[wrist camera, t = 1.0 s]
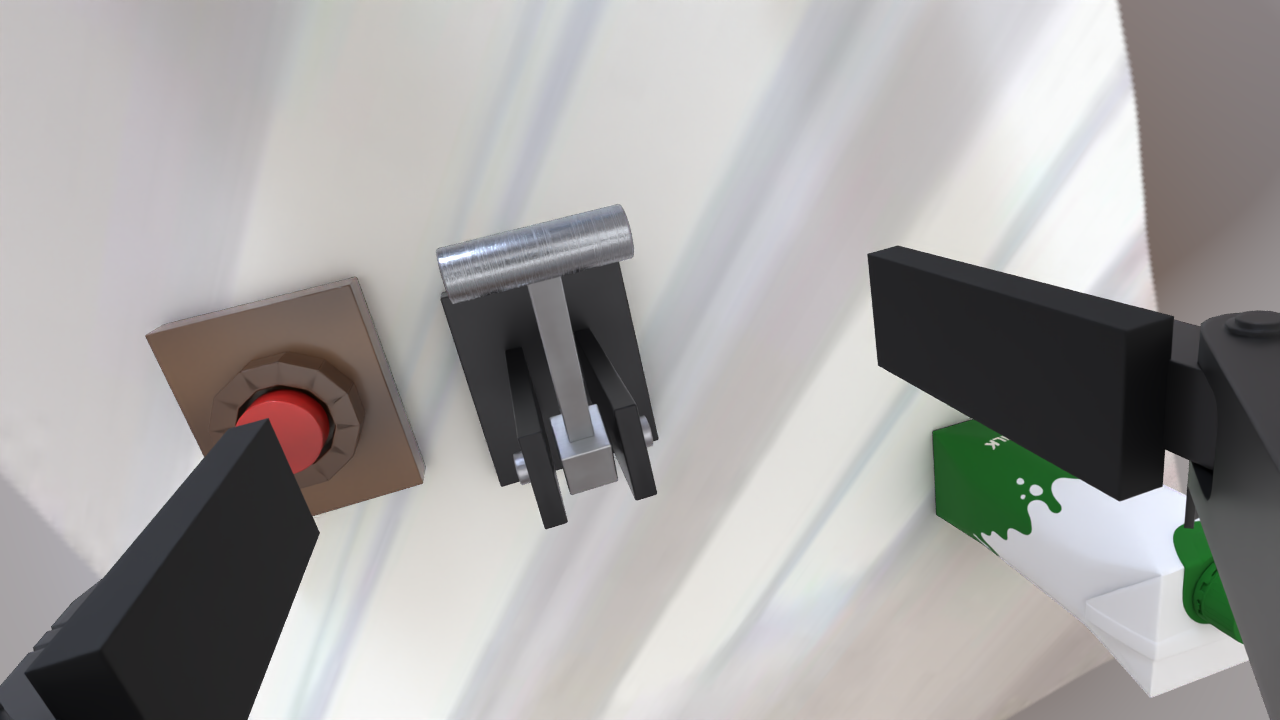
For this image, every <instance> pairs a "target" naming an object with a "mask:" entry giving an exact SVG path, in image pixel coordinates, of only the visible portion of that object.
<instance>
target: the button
mask: <svg viewBox="0 0 1280 720" xmlns="http://www.w3.org/2000/svg"><path fill="white" fill-rule="evenodd" d="M266 418H269V420H270V422H271V425H272V427H273V429H274V431H275V434H276V436H277V438H278V440H279V443H280V445H281V447H282V449H283V452H284V454H285V456H286V458H287V461H288V463H289V465H290V467H291V469H292V472H293V474H295V473H298V472H301V471H303V470H305V469H306V468H308V467H309V466H311V465H312V464H313V463H314V462H315V461H316V459H317V458H318V456H319V455H320V453H321V451H322V449H323V447H324V445H325V442H326V440H327V438H328V435H329V420H328V417H327V414H326V412H325V410H324V409H323V407H322V406H321V405H320V404H319V403H318V402H317V401H316V400H315V399H313V398H312V397H310V396H309V395H307V394H305V393H302V392H299V391H295V390H285V389H283V390H275V391H271V392H268V393H265V394H263V395H261V396H260V397H258V398H257V399H256V400H255V401H254V402H253V403H252V404H251V405H250V406H249V407H248V409H247V410H246V411H245V412H244V413H243V414H242V416H241V417H240V418H239V420H238V422H237V424H236V426H235V427H237V426H241V425H244V424H248V423H252V422H255V421H259V420H263V419H266Z"/></svg>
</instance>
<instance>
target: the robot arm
mask: <svg viewBox="0 0 1280 720" xmlns="http://www.w3.org/2000/svg"><path fill="white" fill-rule="evenodd" d="M868 265H869V275H870V286H871V296H872V307H873V317H874V328H875V338H876V349H877V359H878V366H880V367H882V368H884V369H885V370H887V371H889V372H891V373H892V374H894V375H896V376H898V377H899V378H901V379H903V380H905V381H907V382H908V383H910V384H912V385H914V386H915V387H917V388H919V389H921V390H922V391H924V392H926V393H928V394H930V395H931V396H933V397H935V398H937V399H938V400H940V401H942V402H944V403H946V404H947V405H949V406H951V407H953V408H954V409H956V410H958V411H960V412H961V413H963V414H965V415H967V416H969V417H970V418H972V419H974V420H976V421H977V422H979V423H981V424H983V425H984V426H986V427H988V428H990V429H992V430H993V431H995V432H997V433H999V434H1000V435H1002V436H1004V437H1006V438H1007V439H1009V440H1011V441H1013V442H1015V443H1016V444H1018V445H1020V446H1022V447H1023V448H1025V449H1027V450H1029V451H1031V452H1032V453H1034V454H1036V455H1038V456H1039V457H1041V458H1043V459H1045V460H1046V461H1048V462H1050V463H1052V464H1054V465H1055V466H1057V467H1059V468H1061V469H1062V470H1064V471H1066V472H1068V473H1069V474H1071V475H1073V476H1075V477H1077V478H1078V479H1080V480H1082V481H1084V482H1085V483H1087V484H1089V485H1091V486H1092V487H1094V488H1096V489H1098V490H1100V491H1101V492H1103V493H1105V494H1107V495H1108V496H1110V497H1112V498H1114V499H1116V500H1117V501H1119V502H1120V501H1123V500H1126V499H1129V498H1132V497H1135V496H1137V495H1140V494H1143V493H1146V492H1149V491H1152V490H1154V489H1157V488H1160V487H1163V473H1164V458H1165V450H1168V451H1170V452H1172V453H1174V454H1177V455H1179V456H1181V457H1183V458H1185V459H1188V460H1189V473H1188V484H1187V496H1186V509H1185V521H1184V528H1189V529H1193V528H1194V522H1195V520H1196V519H1198V518H1199V519H1200V522H1201V525H1202V528H1203V530H1204V533H1205V536H1206V539H1207V542H1208V545H1209V547H1210V550H1211V553H1212V556H1213V559H1214V562H1215V565H1216V567H1217V570H1218V573H1219V576H1220V579H1221V582H1222V584H1223V587H1224V590H1225V593H1226V596H1227V599H1228V601H1229V604H1230V607H1231V610H1232V613H1233V616H1234V619H1235V621H1236V624H1237V627H1238V630H1239V633H1240V636H1241V638H1242V641H1243V644H1244V647H1245V650H1246V653H1247V655H1248V658H1249V661H1250V664H1251V666H1252V669H1253V672H1254V675H1255V678H1256V681H1257V684H1258V687H1259V689H1260V692H1261V695H1262V698H1263V701H1264V704H1265V707H1266V709H1267V712H1268V715H1269V718H1270V720H1280V313H1277V312H1272V311H1247V312H1243V313H1233V314H1224V315H1220V316H1216V317H1212V318H1209V319H1208V320H1206V321H1204V322H1203V323H1201V326H1196V325H1192V324H1189V323H1185V322H1181V321H1178V320H1174V316H1170V315H1167V314H1162V313H1159V312H1155V311H1151V310H1147V309H1143V308H1139V307H1136V306H1132V305H1128V304H1124V303H1120V302H1116V301H1112V300H1108V299H1104V298H1100V297H1096V296H1093V295H1089V294H1085V293H1081V292H1077V291H1073V290H1069V289H1065V288H1061V287H1057V286H1054V285H1050V284H1046V283H1042V282H1038V281H1034V280H1030V279H1026V278H1022V277H1018V276H1015V275H1011V274H1007V273H1003V272H999V271H995V270H991V269H987V268H983V267H979V266H976V265H972V264H968V263H964V262H960V261H956V260H952V259H948V258H944V257H940V256H936V255H933V254H929V253H925V252H921V251H917V250H913V249H909V248H905V247H901V246H895V247H891V248H888V249H884V250H880V251H877V252H873V253H869V254H868ZM319 534H320V532H319V530H318V528H317V526H316V523H315V521H314V519H313V517H312V514H311V512H310V510H309V508H308V505H307V503H306V501H305V499H304V496H303V494H302V492H301V490H300V487H299V485H298V483H297V481H296V478H295V476H294V474H293V472H292V469H291V467H290V465H289V463H288V461H287V458H286V456H285V454H284V452H283V449H282V447H281V445H280V443H279V440H278V438H277V436H276V434H275V431H274V429H273V427H272V425H271V422H270V420H269V418H266V419H263V420H259V421H255V422H252V423H248V424H244V425H241V426H237V427H234V428H230V429H228V430H227V431H226V432H225V434H224V435H223V436H222V437H221V438H220V440H219V441H218V442H217V443H216V444H215V446H214V447H213V448H212V449H211V450H210V451H209V453H208V454H207V455H206V456H205V457H204V459H203V460H202V461H201V462H200V463H199V465H198V466H197V467H196V468H195V469H194V471H193V472H192V473H191V474H190V475H189V477H188V478H187V479H186V480H185V481H184V482H183V484H182V485H181V486H180V487H179V488H178V490H177V491H176V492H175V493H174V494H173V496H172V497H171V498H170V499H169V500H168V502H167V503H166V504H165V505H164V506H163V508H162V509H161V510H160V511H159V512H158V514H157V515H156V516H155V517H154V518H153V519H152V521H151V522H150V523H149V524H148V525H147V527H146V528H145V529H144V530H143V531H142V533H141V534H140V535H139V536H138V537H137V539H136V540H135V541H134V542H133V543H132V545H131V546H130V547H129V548H128V549H127V550H126V552H125V553H124V554H123V555H122V556H121V558H120V559H119V560H118V561H117V562H116V564H115V565H114V566H113V567H112V568H111V570H110V571H109V572H108V573H107V574H106V576H105V577H104V578H103V579H101V580H100V581H99V582H97V584H95V585H94V586H92V587H91V588H90V589H88V590H87V591H86V592H85V593H83V594H82V595H81V596H80V597H78V598H77V599H76V600H74V601H73V602H72V603H71V604H70V606H69V607H68V608H67V609H66V610H65V611H64V612H63V614H62V615H61V616H60V617H59V618H58V619H57V621H56V622H55V623H54V624H53V625H52V626H51V628H52V630H51V631H48V632H46V633H45V634H44V636H43V637H42V638H41V639H40V640H39V641H38V643H37V644H36V645H35V646H34V647H33V649H34V652H30V653H28V654H27V656H26V657H25V658H24V659H23V660H22V661H21V662H20V663H19V665H18V666H17V667H16V668H15V669H14V670H13V672H12V673H11V674H10V675H9V676H8V677H7V679H6V680H5V681H4V682H3V683H2V684H1V686H0V720H248V717H249V714H250V712H251V709H252V707H253V704H254V702H255V699H256V696H257V694H258V691H259V689H260V686H261V683H262V681H263V678H264V676H265V673H266V671H267V668H268V665H269V663H270V660H271V658H272V655H273V652H274V650H275V647H276V645H277V642H278V640H279V637H280V634H281V632H282V629H283V627H284V624H285V621H286V619H287V616H288V614H289V611H290V609H291V606H292V603H293V601H294V598H295V596H296V593H297V591H298V588H299V585H300V583H301V580H302V578H303V575H304V572H305V570H306V567H307V565H308V562H309V560H310V557H311V554H312V552H313V549H314V547H315V544H316V541H317V539H318V536H319Z"/></svg>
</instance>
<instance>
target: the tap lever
mask: <svg viewBox="0 0 1280 720" xmlns="http://www.w3.org/2000/svg"><path fill="white" fill-rule="evenodd" d="M633 255H634V245H633V238H632V233H631V229H630V225H629V222H628V219H627V216H626V214H625V211H624V209H623V208H622V206H621V205H620V204H616V205H612V206H608V207H604V208H600V209H596V210H592V211H588V212H583V213H579V214H575V215H571V216H567V217H563V218H559V219H555V220H551V221H547V222H543V223H539V224H535V225H531V226H527V227H522V228H518V229H514V230H510V231H506V232H502V233H498V234H494V235H490V236H486V237H482V238H478V239H474V240H470V241H466V242H462V243H457V244H453V245H449V246H445V247H441V248H438V249H437V250H436V256H437V261H438V265H439V269H440V273H441V276H442V280H443V283H444V286H445V289H446V291H447V294H448V297H449V299H450V301H451V302H452V303H453V304H457V303H461V302H464V301H468V300H472V299H476V298H480V297H484V296H488V295H491V294H495V293H499V292H503V291H507V290H511V289H515V288H519V287H522V286H526V285H527V286H528V290H529V294H530V297H531V301H532V305H533V309H534V312H535V316H536V320H537V324H538V328H539V331H540V335H541V339H542V343H543V347H544V350H545V354H546V358H547V362H548V365H549V369H550V373H551V377H552V381H553V384H554V388H555V392H556V396H557V400H558V403H559V407H560V411H561V414H560V415H556V416H553V417H550V418H549V421H550V424H551V428H552V432H553V435H554V439H555V442H556V446H557V450H558V453H559V457H560V460H561V464H562V467H563V471H564V474H565V478H566V481H567V485H568V488H569V492H570V494H571V495H574V494H577V493H580V492H584V491H587V490H590V489H594V488H597V487H600V486H603V485H607V484H610V483H613V482H616V481H618V477H617V471H616V466H615V461H614V455H613V450H612V445H611V442H610V439H609V436H608V433H607V430H606V427H605V424H604V422H603V419H602V416H601V413H600V410H599V407H598V405H597V404H594V405H591V406H588V402H587V397H586V393H585V388H584V383H583V379H582V374H581V369H580V365H579V360H578V355H577V350H576V346H575V341H574V336H573V332H572V327H571V322H570V318H569V313H568V308H567V304H566V299H565V294H564V290H563V285H562V280H561V276H565V275H569V274H573V273H576V272H580V271H584V270H588V269H592V268H596V267H600V266H604V265H607V264H611V263H615V262H619V261H623V260H627V259H631V258H632V257H633Z"/></svg>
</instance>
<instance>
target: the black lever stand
mask: <svg viewBox="0 0 1280 720" xmlns="http://www.w3.org/2000/svg"><path fill="white" fill-rule="evenodd" d="M561 280H562V285H563V290H564V294H565V299H566V304H567V308H568V313H569V318H570V322H571V327H572V332H573V336H574V341H575V346H576V350H577V355H578V360H579V365H580V369H581V374H582V379H583V383H584V388H585V393H586V397H587V402H588V406H591V405H594V404H597V405H598V407H599V410H600V413H601V416H602V419H603V422H604V424H605V427H606V430H607V433H608V436H609V439H610V442H611V445H612V450H613V453H615V456H616V458H617V460H618V462H619V464H620V467H621V469H622V471H623V473H624V476H625V478H626V480H627V482H628V485H629V487H630V489H631V491H632V493H633V496H634V498H635V500H641V499H644V498H647V497H650V496H653V495H656V494H657V490H656V485H655V481H654V477H653V473H652V468H651V464H650V460H649V455H648V451H647V447H650V446H653V441H656V440H658V434H657V430H656V425H655V421H654V416H653V412H652V407H651V403H650V398H649V394H648V389H647V385H646V381H645V376H644V372H643V367H642V363H641V358H640V354H639V349H638V345H637V340H636V336H635V332H634V327H633V323H632V318H631V314H630V309H629V305H628V300H627V296H626V291H625V287H624V283H623V278H622V274H621V269H620V265H619V262H615V263H611V264H607V265H604V266H600V267H596V268H592V269H588V270H584V271H580V272H576V273H573V274H569V275H565V276H561ZM441 302H442V305H443V308H444V312H445V315H446V318H447V321H448V324H449V327H450V330H451V333H452V336H453V339H454V343H455V346H456V349H457V352H458V355H459V358H460V361H461V364H462V367H463V370H464V373H465V377H466V380H467V383H468V386H469V389H470V392H471V395H472V398H473V401H474V404H475V408H476V411H477V414H478V417H479V420H480V423H481V426H482V429H483V432H484V435H485V438H486V442H487V445H488V448H489V451H490V454H491V457H492V460H493V463H494V466H495V469H496V473H497V476H498V479H499V482H500V485H501V487H503V486H506V485H509V484H513V483H516V482H519V481H520V483H521V484H522V485H524V484H527V483H531V485H532V488H533V491H534V494H535V498H536V501H537V504H538V508H539V511H540V514H541V517H542V521H543V524H544V527H545V529H549V528H552V527H555V526H558V525H562V524H565V523H567V522H568V520H567V516H566V512H565V508H564V504H563V500H562V496H561V491H560V487H559V483H558V479H557V475H556V470H559V469H563V467H562V464H561V460H560V457H559V453H558V450H557V446H556V442H555V439H554V435H553V432H552V428H551V424H550V421H549V418H550V417H553V416H556V415H560V414H561V411H560V407H559V403H558V400H557V396H556V392H555V388H554V384H553V381H552V377H551V373H550V369H549V365H548V362H547V358H546V354H545V350H544V347H543V343H542V339H541V335H540V331H539V328H538V324H537V320H536V316H535V312H534V309H533V305H532V301H531V297H530V294H529V290H528V286H527V285H526V286H522V287H519V288H515V289H511V290H507V291H503V292H499V293H495V294H491V295H488V296H484V297H480V298H476V299H472V300H468V301H464V302H461V303H457V304H453V303H452V302H451V301H450V299H449V297H448V294H447V292H443V293H442V294H441Z"/></svg>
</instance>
